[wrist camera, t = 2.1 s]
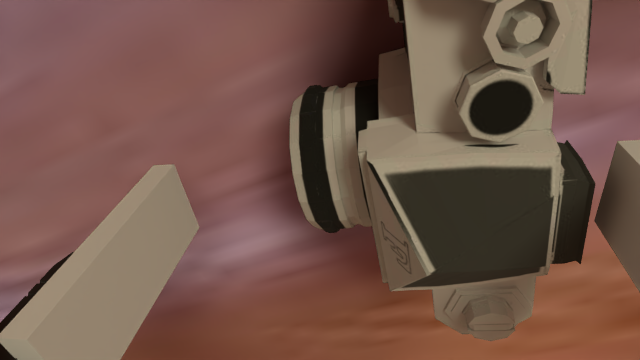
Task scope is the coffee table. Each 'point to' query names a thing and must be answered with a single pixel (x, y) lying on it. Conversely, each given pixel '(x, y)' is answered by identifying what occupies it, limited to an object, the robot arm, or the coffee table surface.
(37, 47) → the coffee table surface
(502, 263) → the camera
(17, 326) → the robot arm
